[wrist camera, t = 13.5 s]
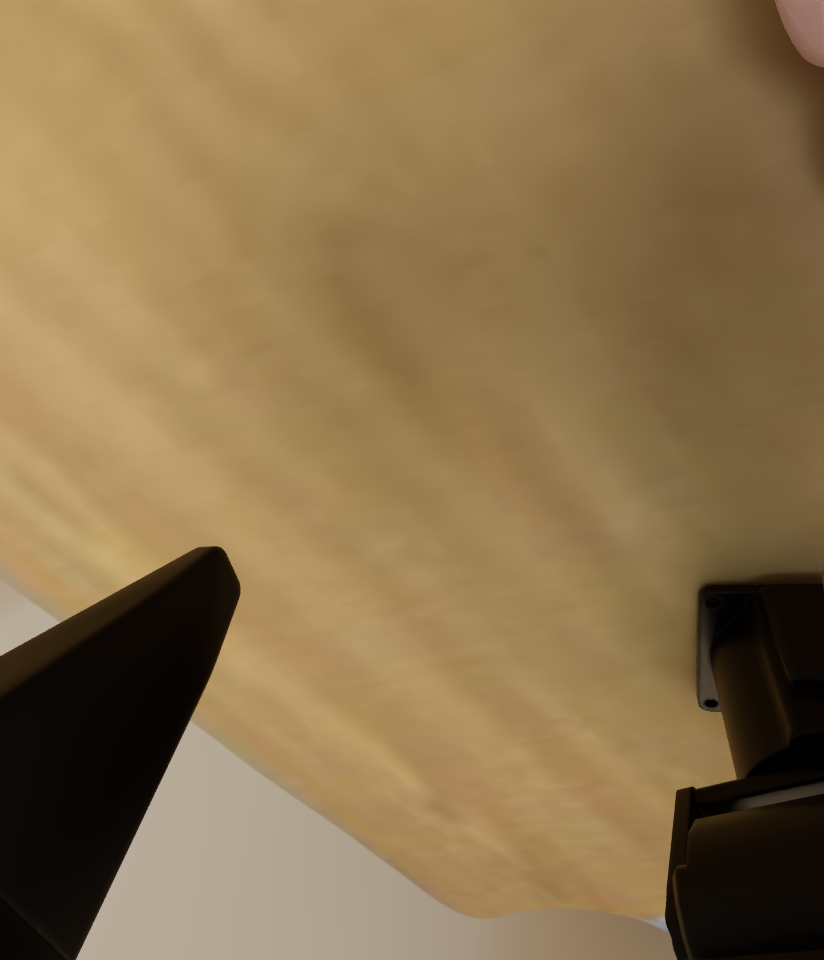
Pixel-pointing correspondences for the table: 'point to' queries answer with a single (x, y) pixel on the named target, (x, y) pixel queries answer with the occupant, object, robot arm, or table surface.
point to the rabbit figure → (805, 27)
